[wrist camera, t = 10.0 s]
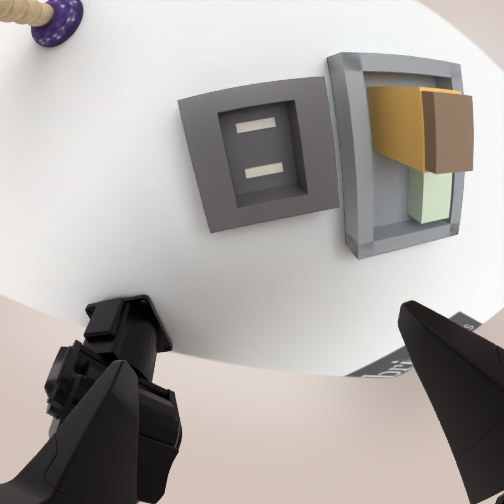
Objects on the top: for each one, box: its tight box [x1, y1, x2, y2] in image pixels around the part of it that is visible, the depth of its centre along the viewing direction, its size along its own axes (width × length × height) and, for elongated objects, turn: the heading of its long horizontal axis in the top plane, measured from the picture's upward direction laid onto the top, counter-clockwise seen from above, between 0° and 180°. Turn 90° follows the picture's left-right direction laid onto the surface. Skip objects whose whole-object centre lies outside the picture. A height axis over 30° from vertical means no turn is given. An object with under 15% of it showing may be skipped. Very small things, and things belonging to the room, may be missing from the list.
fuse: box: [408, 166, 452, 224], centre depth 19 cm, size 5×3×2 cm, turn 10°
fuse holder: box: [177, 76, 339, 233], centre depth 17 cm, size 8×8×3 cm
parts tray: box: [327, 52, 465, 260], centre depth 18 cm, size 14×10×2 cm
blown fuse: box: [367, 86, 474, 174], centre depth 14 cm, size 5×3×7 cm
